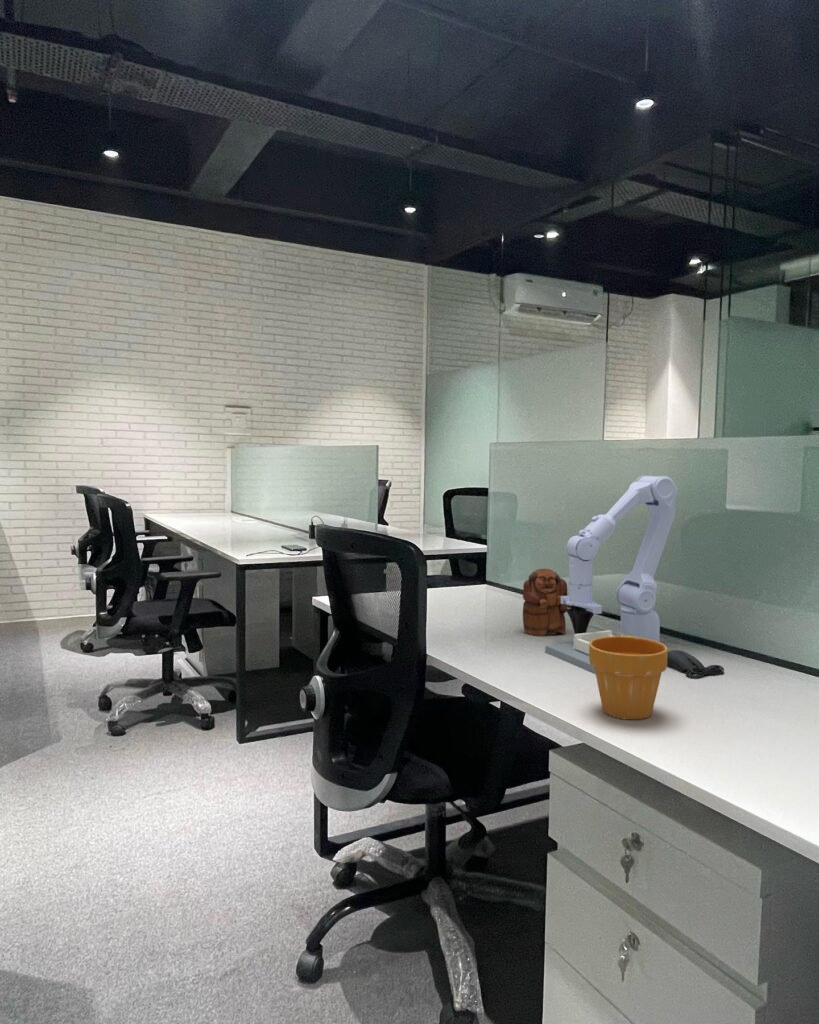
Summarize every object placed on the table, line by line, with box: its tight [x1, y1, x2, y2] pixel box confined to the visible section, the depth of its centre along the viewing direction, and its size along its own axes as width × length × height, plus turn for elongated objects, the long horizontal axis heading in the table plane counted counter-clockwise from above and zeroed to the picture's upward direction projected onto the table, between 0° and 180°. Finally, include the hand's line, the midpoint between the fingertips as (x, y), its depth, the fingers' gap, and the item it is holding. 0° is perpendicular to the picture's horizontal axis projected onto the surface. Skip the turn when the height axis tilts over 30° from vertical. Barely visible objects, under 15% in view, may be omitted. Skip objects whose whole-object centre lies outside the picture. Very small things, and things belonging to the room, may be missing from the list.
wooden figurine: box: [522, 568, 569, 637], centre depth 197 cm, size 12×6×18 cm, turn 100°
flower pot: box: [589, 635, 669, 720], centre depth 135 cm, size 14×14×13 cm
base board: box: [544, 641, 596, 675], centre depth 171 cm, size 16×24×4 cm, turn 23°
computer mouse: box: [667, 649, 725, 680], centre depth 164 cm, size 10×15×4 cm
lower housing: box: [573, 629, 614, 654], centre depth 172 cm, size 11×10×4 cm
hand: (580, 636), depth 181 cm, fingers closed
